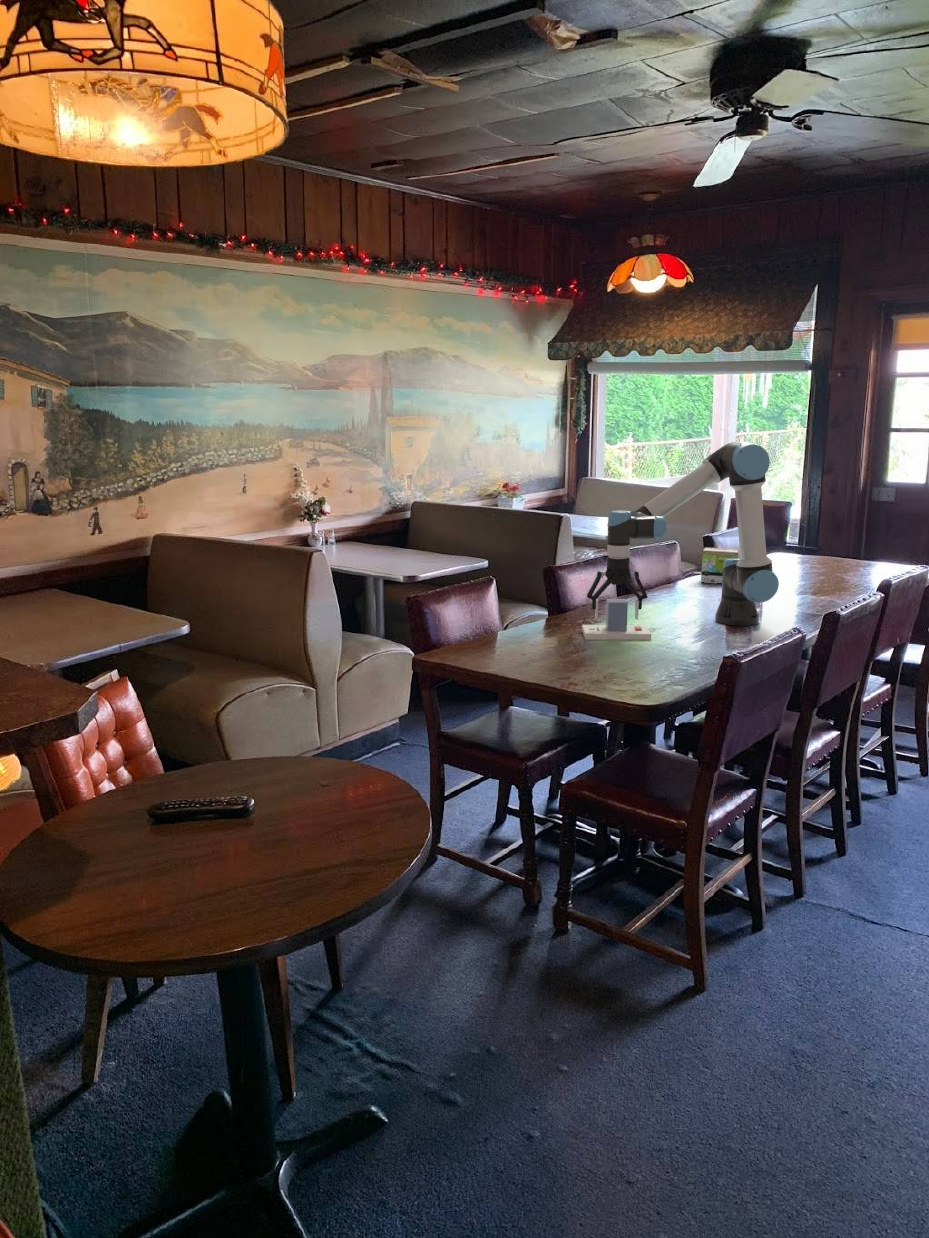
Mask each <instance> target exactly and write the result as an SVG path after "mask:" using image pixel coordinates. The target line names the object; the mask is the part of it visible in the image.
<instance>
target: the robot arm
mask: <svg viewBox="0 0 929 1238" xmlns="http://www.w3.org/2000/svg"><path fill="white" fill-rule="evenodd" d="M770 461H771V460H770V455H769V453H768V452H767V450H766V449H765V448H764V447H763V446H761V445H760V444H757V443H755V442H748V441H747V442H744V441H731V442H729V443H726V444H724V445H722V446H721V447H720V448H718V449H717V450H715V451H714V452H713V453H711V454H710V455H709V456H707V457H705V458H704V459H703V460H702V463H701V465H699V466H698V467H696V468H695V469H694V470H692V471H691V472H689V473H688V474H686V475H685V476H684V477H682V478H681V479H680V480H678V481H676V482H674V483H673V484H672V485H670V486H669V487H668V488H666V489H665V490H664V491H662V492H661V493H659V494H657V495H656V496H655V497H653V498H651V500H649V501H647V502H646V503H644V504H643V505H642V506H640V507H638V508H637V509H636V510H631V511H630V510H621V509H620V510H619V509H618V510H611V511H610V512H609V513H608V515H607V516H608V518H607V550H606V551H607V552H606V555H607V558H606V570H605V571H601V570H597V572H596V577H595V578H594V581H593V583H592V585H591V586H590V588H589V590H588V592H587V593H586V597H587V598H588V599H590V600H591V608H592V610H594V619H595V620H598V619H599V599H598V598H599V597H600V596H601V595H602V594H603V592H604V591H606V589H607V588H608V587H609V586H610V585H614V586H615V585H620V586H621V585H624V584H625V585H626V586H627V587H628V588H629V590H630V591H631V592H632V593H633V594H634V595H635V597H636V598H635V602H634V603H635V605H634V619H635V620H639V610H642V608H643V600H645V599H648V593H647V592H646V590H645V588H644V585H643V584H642V581H641V579H640V574H639V571H638V570H634V571H630V562H631V561H630V556H631V554H630V553H631V551H630V550H631V540H639V539H640V540H644V539H645V540H649V539H651V540H657V539H663V538H665V536H666V535H667V529H668V528H667V527H668V525H667V521H666V520H667V519H666V516H667V515H670V514H671V513H672V512H673V511H675V510H676V509H678V508H679V507H681V506H683V505H684V504H685V503H686V502H688V501H689V500H691V499H692V498H694V497H695V496H697V495H698V494H700V493H702V492H703V491H704V490H705V489H707V488H708V487H710V486H711V485H713V484H714V483H718V484H719V483H721V482H722V481H724V480H725V479H727V478H728V482H729V487H731V488H732V489H733V490H734V496H735V497H734V498H735V509H736V519H737V531H738V532H737V533H738V544H739V556H740V558H738V559H726V560H725V561H724V563H723V568H722V570H723V575H722V584H721V598H720V602H719V605H718V606H717V607H718V608H717V610H716V612H715V617H714V618H715V619H714V621H716V623H720V624H723V625H726V626H727V625H728V626H737V627H740V626H741V627H742V626H743V627H744V626H745V627H746V626H747V627H748V626H754V625H758V624H759V622H760V621H759V619H760V618H759V617H760V616H759V612H758V610H757V609H758V608H757V605H756V603H757V604H758V603H759V604H760V603H761V604H762V603H765V602H767V601H770V600H771V599H773V597H774V596H775V595H776V594H777V592H778V589H779V587H780V585H779V583H780V582H779V578H778V576H777V575H776V574H775V572H773V561H772V560H771V558H769V556H767V546H766V545H767V544H766V543H767V542H766V532H765V531H766V530H765V519H764V518H765V517H764V504H763V493H762V487H763V485H765V483H766V482H767V481H766V474H767V471H769V468H770V463H771V462H770ZM631 576H632V578H634V580H635V582H636V583H637V586H638V588H639V590H640V593H641V594H639V592H638V591H637V590H636V588H635V587H634V586H633V585H632V584H631V582H630V581H629V580H628V579H629V578H630V577H631ZM603 577H606V580H605V581H604V582H603V584H602V585H601V586H600V587H599V588H598V590H596V589H597V587H598V585H599V583H600V581H601V579H602V578H603ZM595 591H596V592H595ZM594 592H595V593H594Z"/></svg>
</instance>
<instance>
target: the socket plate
mask: <svg viewBox="0 0 929 1238" xmlns="http://www.w3.org/2000/svg"><path fill="white" fill-rule="evenodd" d="M581 631H582V633H583V637H584V640H589V641H591V640H594V641H595V640H599V641H601V640H603V641H604V640H605V641H607V640H609V641H610V640H617V641H619V640H621V641H622V640H625V641H628V640H633V641H634V640H635V641H642V640H643V641H644V640H646V641H650V640H652V632H651V631H650V629H649V628H648V627H647V625H646V624H627V632H617V631H607V629H606V624H582V626H581Z"/></svg>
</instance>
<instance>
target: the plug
mask: <svg viewBox="0 0 929 1238" xmlns="http://www.w3.org/2000/svg"><path fill="white" fill-rule="evenodd" d="M605 602H606V603H605V604H606V607H605V608H606V609H605V625H606V629H607V631H617V632H627V625H628V607H629V606H628V605H629V603H628V601H627V599H626V598H606V600H605Z"/></svg>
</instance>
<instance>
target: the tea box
mask: <svg viewBox="0 0 929 1238" xmlns="http://www.w3.org/2000/svg"><path fill="white" fill-rule="evenodd" d="M739 556H740V548H723V547H722V548H721V547H704V548H703V551H702V557H701V558H702V560H701V561H702V562H701V572H700V583H701V582H704V584H705V583H706V584H717V583H722V575H723V570H722V568H723V563H724V561H725V560H726V559H739Z"/></svg>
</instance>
